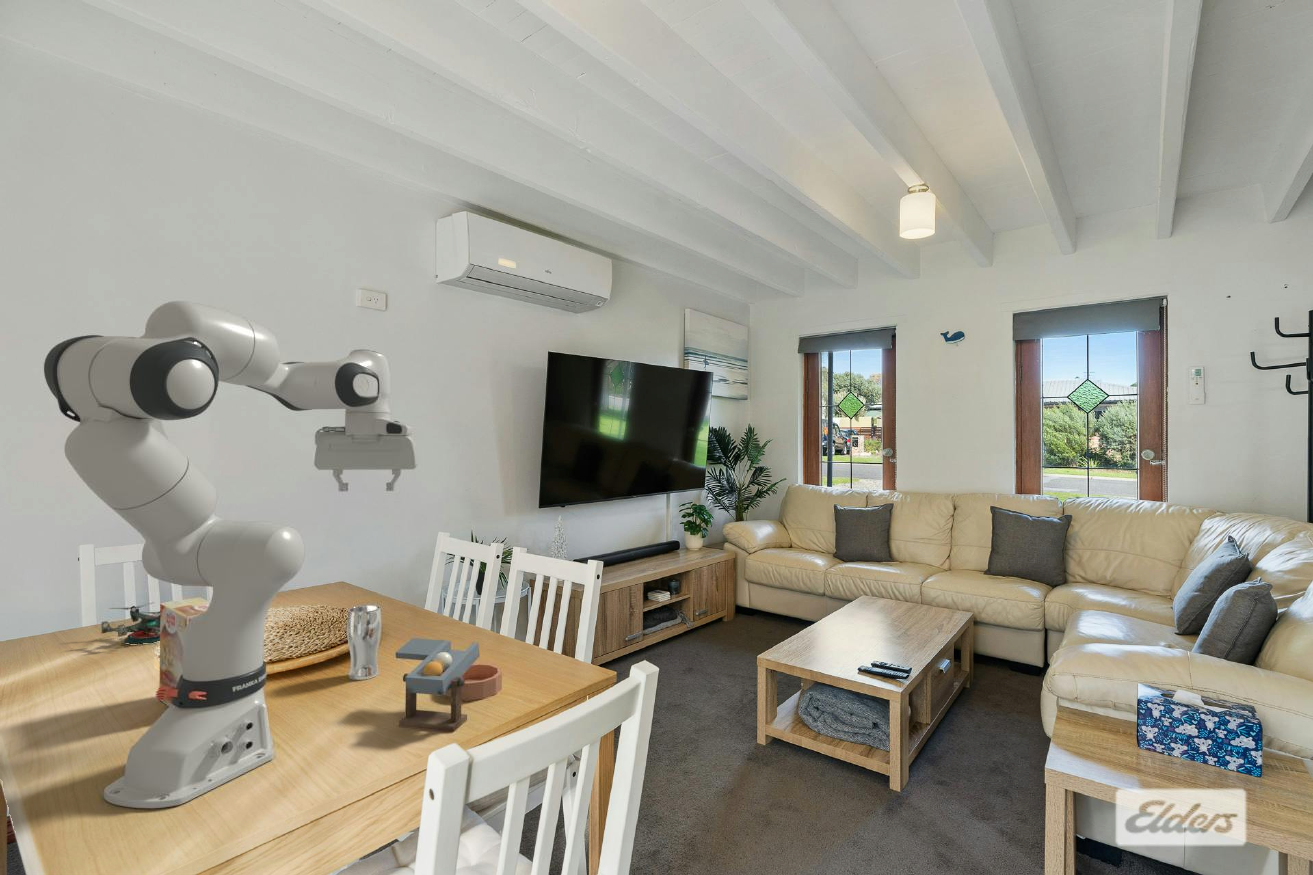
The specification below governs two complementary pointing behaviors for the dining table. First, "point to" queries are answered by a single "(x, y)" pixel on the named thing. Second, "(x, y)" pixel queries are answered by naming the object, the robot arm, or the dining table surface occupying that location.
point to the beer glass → (364, 640)
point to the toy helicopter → (138, 627)
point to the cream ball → (443, 660)
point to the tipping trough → (427, 652)
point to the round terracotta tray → (480, 682)
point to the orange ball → (433, 669)
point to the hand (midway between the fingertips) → (367, 491)
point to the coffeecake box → (175, 637)
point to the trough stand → (433, 718)
